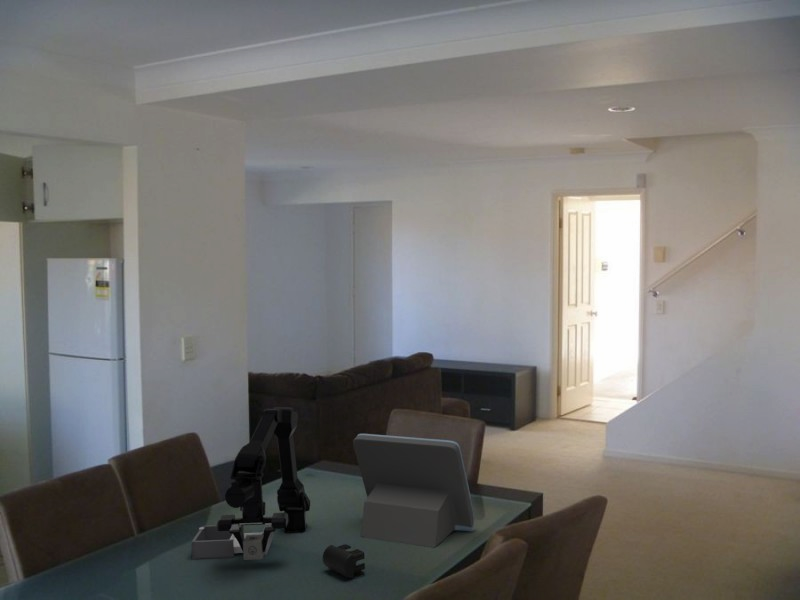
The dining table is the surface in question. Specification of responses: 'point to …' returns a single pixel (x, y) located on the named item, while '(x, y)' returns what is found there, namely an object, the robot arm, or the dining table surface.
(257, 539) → the dice cube
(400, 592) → the dining table surface
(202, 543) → the housing
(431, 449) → the touchscreen device
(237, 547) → the tray
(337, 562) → the end cap
